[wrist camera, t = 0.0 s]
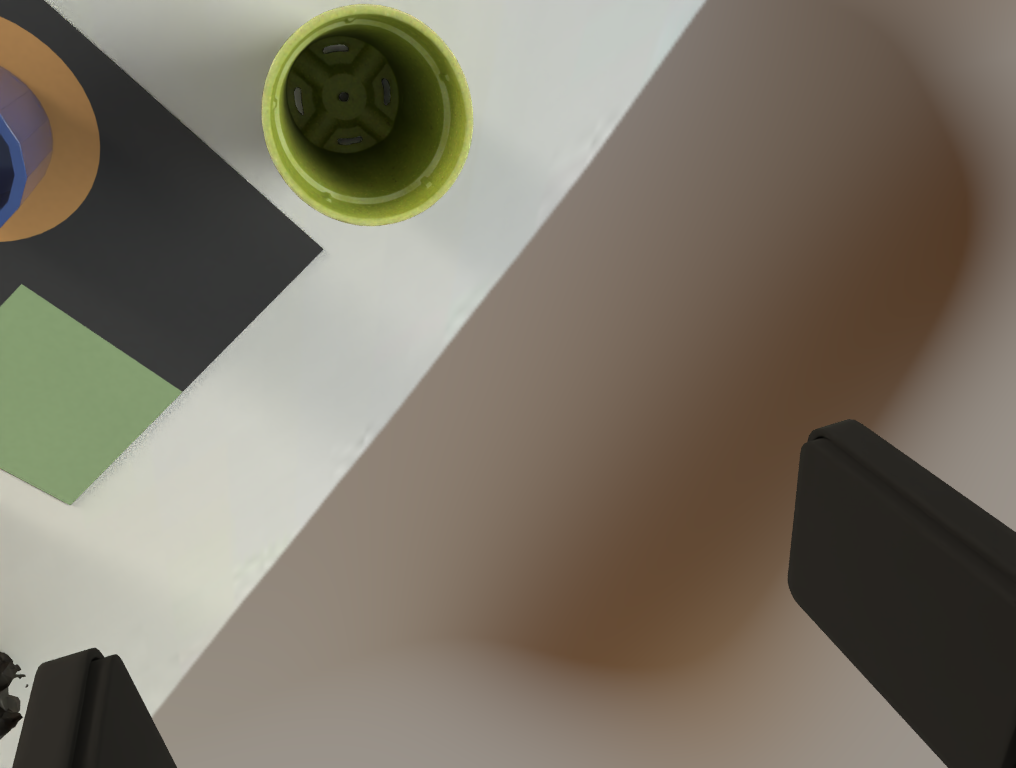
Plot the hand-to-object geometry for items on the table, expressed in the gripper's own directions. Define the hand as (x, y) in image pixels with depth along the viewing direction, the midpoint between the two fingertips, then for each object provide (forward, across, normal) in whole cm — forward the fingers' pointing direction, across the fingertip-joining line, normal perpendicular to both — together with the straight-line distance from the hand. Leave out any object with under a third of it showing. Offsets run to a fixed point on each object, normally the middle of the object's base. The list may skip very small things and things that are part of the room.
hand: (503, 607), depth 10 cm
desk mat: (+37, +15, +4) cm, 40 cm away
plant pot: (+38, -3, -1) cm, 38 cm away
